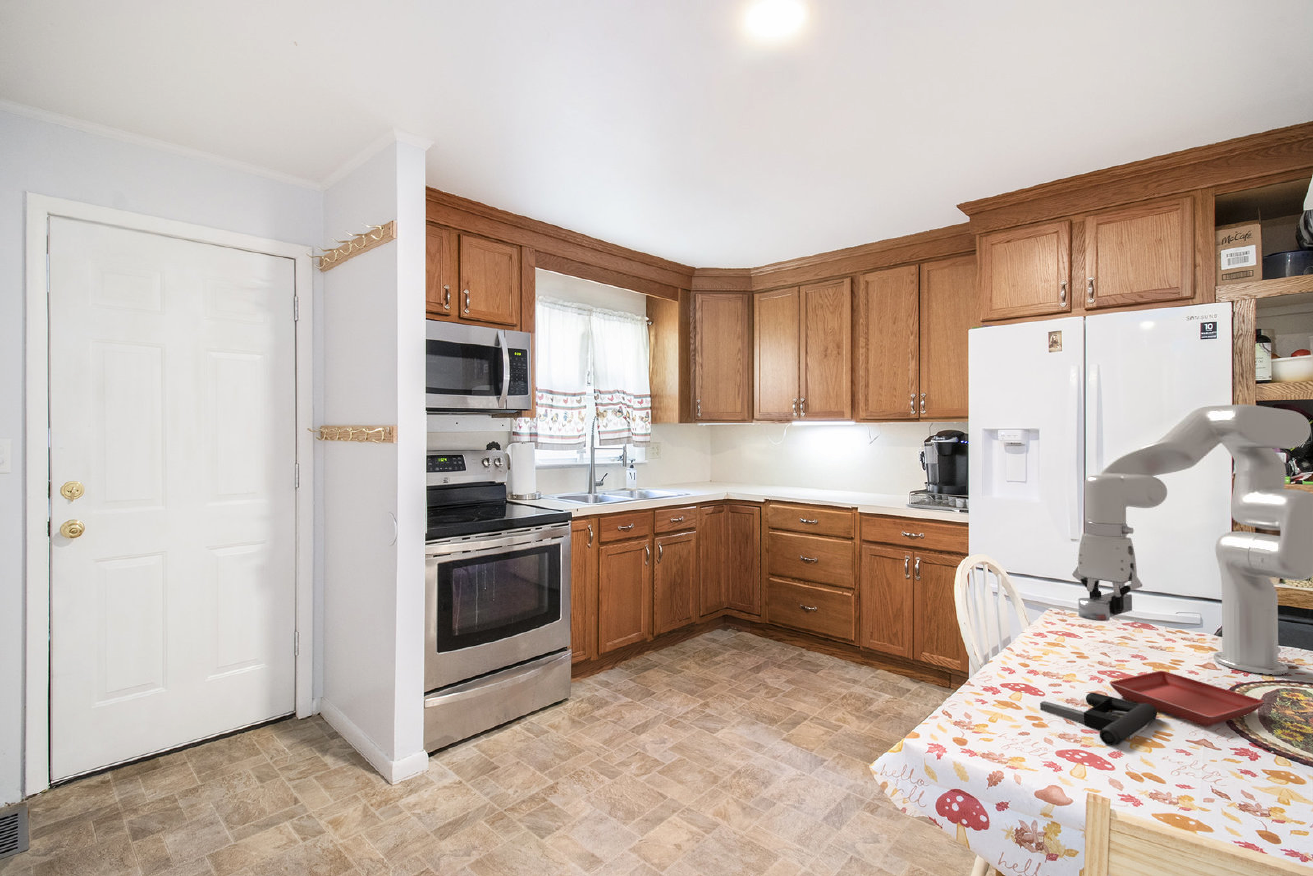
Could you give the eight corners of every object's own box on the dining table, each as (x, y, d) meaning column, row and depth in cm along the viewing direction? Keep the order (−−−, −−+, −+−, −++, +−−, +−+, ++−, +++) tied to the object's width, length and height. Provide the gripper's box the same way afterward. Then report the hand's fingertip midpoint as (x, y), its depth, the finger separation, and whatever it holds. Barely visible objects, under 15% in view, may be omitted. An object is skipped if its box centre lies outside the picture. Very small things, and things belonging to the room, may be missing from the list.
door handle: (1025, 706, 118) (1124, 734, 104) (1071, 683, 129) (1166, 705, 115) (1026, 723, 117) (1126, 754, 104) (1072, 699, 129) (1167, 723, 115)
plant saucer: (1106, 696, 128) (1106, 680, 128) (1161, 684, 134) (1161, 669, 134) (1211, 735, 111) (1210, 717, 111) (1267, 718, 117) (1267, 701, 117)
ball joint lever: (1109, 605, 144) (1109, 590, 144) (1137, 611, 139) (1137, 595, 139) (1073, 616, 135) (1073, 600, 135) (1101, 622, 131) (1101, 605, 131)
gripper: (1157, 533, 132) (1158, 617, 132) (1074, 524, 146) (1075, 600, 146) (1140, 536, 128) (1142, 623, 128) (1057, 527, 143) (1058, 605, 142)
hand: (1106, 610), depth 137 cm, fingers closed on ball joint lever, 3 cm apart
